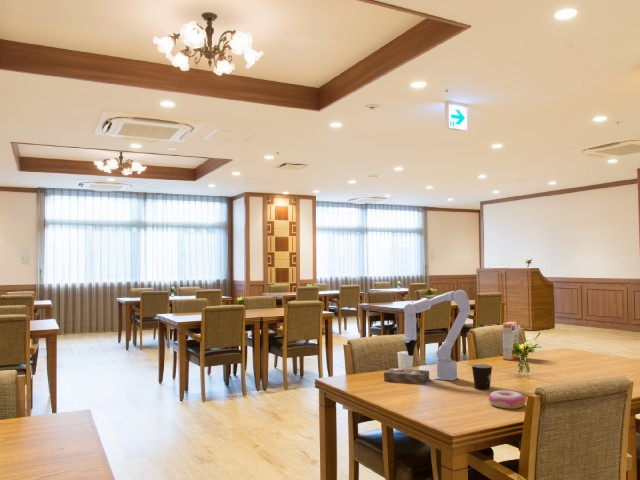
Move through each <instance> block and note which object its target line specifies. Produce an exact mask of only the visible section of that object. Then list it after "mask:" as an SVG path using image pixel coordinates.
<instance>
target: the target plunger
mask: <svg viewBox="0 0 640 480" xmlns="http://www.w3.org/2000/svg"><path fill="white" fill-rule="evenodd" d="M394 368H395V367H394ZM392 371H393V372H403V369H400V368H399V367H398V368H395V369H392Z"/></svg>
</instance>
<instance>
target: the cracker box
mask: <svg viewBox="0 0 640 480" xmlns="http://www.w3.org/2000/svg"><path fill="white" fill-rule="evenodd" d="M514 343H518V344H519V322H518V321H507V322H503V323H502V360H505V361H513V360H516V359H517V358H518V357H517V356H514V355H512V350H513V344H514Z"/></svg>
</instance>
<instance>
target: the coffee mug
mask: <svg viewBox="0 0 640 480" xmlns="http://www.w3.org/2000/svg"><path fill="white" fill-rule="evenodd" d="M471 369H472V377H473V385H474V389H475V390H477V391H490V390H491V383H492V382H491V380H492V371H493V370H492V369H493V366H492V365H490V364H483V363H477V364H472V365H471Z"/></svg>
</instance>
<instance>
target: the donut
mask: <svg viewBox="0 0 640 480" xmlns="http://www.w3.org/2000/svg"><path fill="white" fill-rule="evenodd" d="M488 401H489V403H490V404H491V405H492V406H494V407H496V408H500V409H506V410H507V409H509V410H510V409H513V410H514V409H515V410H517V409H521V408H522V407H523V406H525V403H526V398H525V395H523V394H522V393H520V392H518V391H514V390H501V389H500V390H494V391H492V392H490V393H489V395H488Z"/></svg>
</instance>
